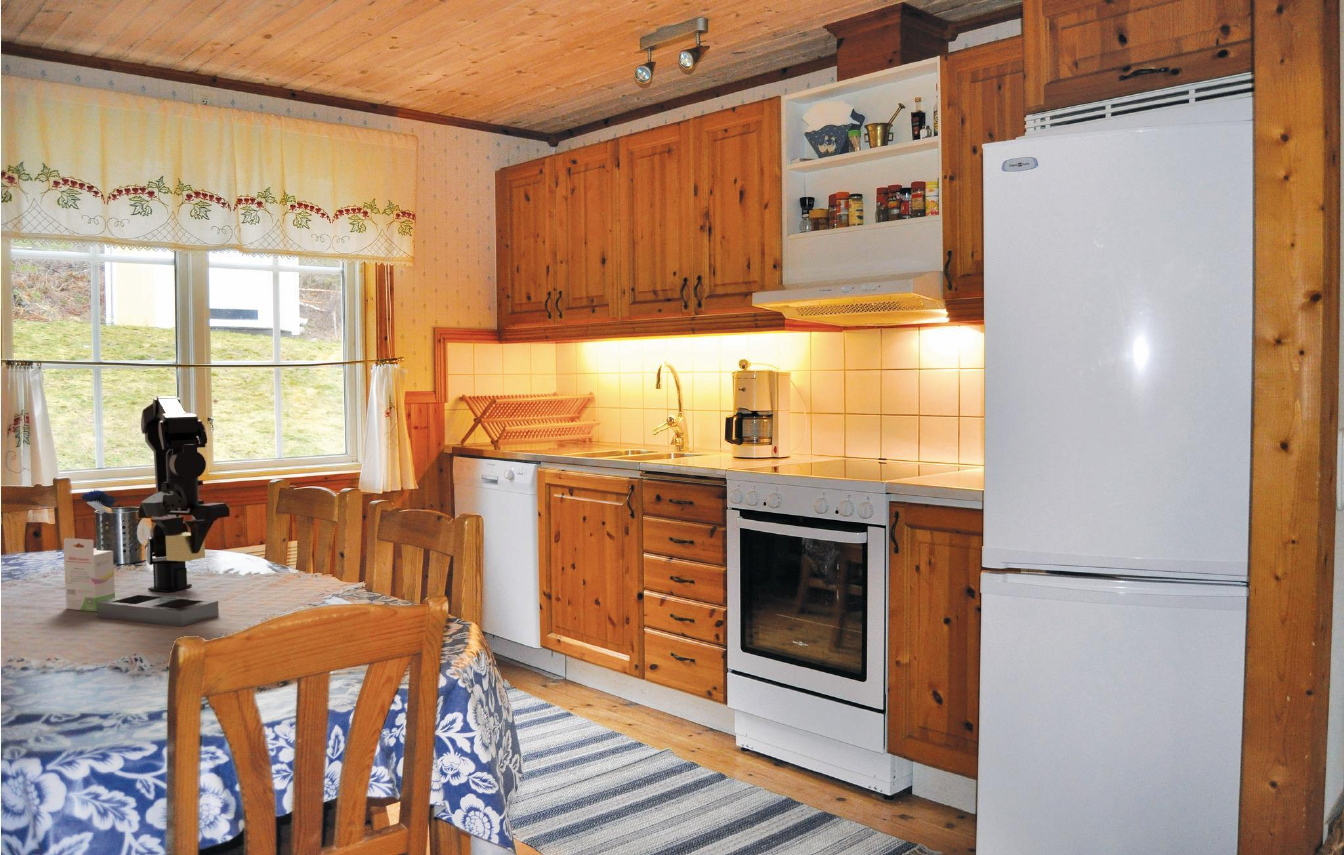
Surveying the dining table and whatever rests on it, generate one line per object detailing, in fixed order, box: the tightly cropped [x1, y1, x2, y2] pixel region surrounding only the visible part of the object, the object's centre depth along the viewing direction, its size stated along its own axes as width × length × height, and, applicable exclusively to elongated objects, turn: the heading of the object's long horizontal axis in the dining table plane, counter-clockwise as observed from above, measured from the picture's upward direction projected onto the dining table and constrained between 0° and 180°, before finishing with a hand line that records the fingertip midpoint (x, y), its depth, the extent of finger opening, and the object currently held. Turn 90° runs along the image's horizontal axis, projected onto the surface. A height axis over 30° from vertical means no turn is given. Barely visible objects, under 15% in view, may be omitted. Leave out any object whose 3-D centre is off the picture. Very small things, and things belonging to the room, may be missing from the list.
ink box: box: [63, 537, 116, 612], centre depth 208 cm, size 9×5×15 cm, turn 71°
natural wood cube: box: [166, 531, 206, 562], centre depth 205 cm, size 5×5×5 cm
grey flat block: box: [96, 592, 220, 628], centre depth 200 cm, size 22×9×3 cm, turn 69°
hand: (185, 552), depth 205 cm, fingers closed on natural wood cube, 5 cm apart
